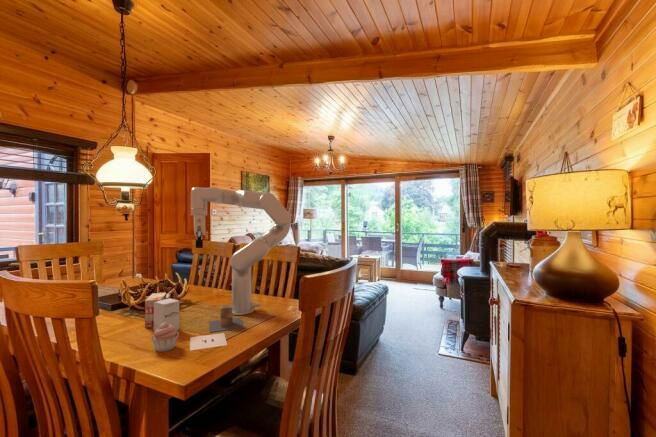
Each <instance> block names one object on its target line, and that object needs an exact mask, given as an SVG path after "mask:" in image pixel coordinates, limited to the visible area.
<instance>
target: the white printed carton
mask: <svg viewBox="0 0 656 437" xmlns="http://www.w3.org/2000/svg"><path fill="white" fill-rule="evenodd" d="M165 299H171V294H170V293H167V292H156V293H155V292H154V293H153V292H152V293H151V294H150V295H149V296H148V297H147V298H146V299H144V316H145V318H144V329H145V328H154V302H157V301H161V300H165Z"/></svg>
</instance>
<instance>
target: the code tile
mask: <svg viewBox="0 0 656 437" xmlns="http://www.w3.org/2000/svg"><path fill="white" fill-rule="evenodd" d="M226 338H227V337H226V335H225V333H224V332H220V333H213V334H207V335H199V336H198V335H197V336H193V337H190V338H189V351H196V350H197V351H198V350H203V349H210V348H217V347H222V346H223V347H224V346H228V343H227V339H226Z"/></svg>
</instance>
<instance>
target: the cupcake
mask: <svg viewBox="0 0 656 437" xmlns="http://www.w3.org/2000/svg"><path fill="white" fill-rule="evenodd" d="M179 333H180V332H178V330H176V329H175V328H174V326H173V325H171V324H168V323H167V322H165V323H162V324H161V325H160V326H159V328H158V329H157V330H156V331H153V335H152V336H151V338H150V340H151V342H152V344H153V345H154V350H155V351H156V352H159V353H163V352H168V351H169V352H170V351H172V350H173V349H175V347H176V343H177V339H178V337H179V336H180V335H179Z"/></svg>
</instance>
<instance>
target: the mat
mask: <svg viewBox="0 0 656 437" xmlns="http://www.w3.org/2000/svg"><path fill="white" fill-rule="evenodd" d="M208 327H209V333H210V334H211V333H217V332H225V331H227V332H228V331H232V330H234V331H235V330H241V329H242V330H243V329H245V326H244V323H243V320H242V319H241V317H235V318H234V317H233V325H232V326H224V327H221V326H220V319H217V320H216V319H215V320H209V321H208Z"/></svg>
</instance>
